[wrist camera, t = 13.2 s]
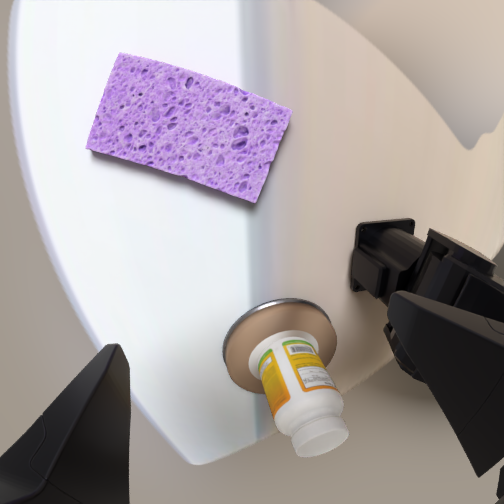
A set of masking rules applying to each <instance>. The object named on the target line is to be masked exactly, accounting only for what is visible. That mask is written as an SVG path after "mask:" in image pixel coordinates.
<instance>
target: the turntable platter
mask: <svg viewBox="0 0 504 504" xmlns="http://www.w3.org/2000/svg"><path fill="white" fill-rule="evenodd" d="M286 337H300V338H304V339H306V340H308V341H309V342H310V343H311V344H312V345H313V347H314V349H315V350H316V352H317V354H318V356H319V357H320V359H321V361H322V363H323V365H324V366H325V368H326V367H327V365H328V364H329V363H330V361H331V359H332V358H333V356H334V353H335V350H336V346H337V336H336V333H335V330H334V328H333V326H332V325H331V323H330V322H329V321H328V319H327V318H326V316H325V315H324V314H323V313H322V312H321V311H320V310H318V309H317V308H315V307H313V306H311V305H308V304H304V303H299V302H285V303H278V304H274V305H270V306H267V307H264V308H262V309H260V310H258V311H256V312H254V313H252V314H251V315H249V316H248V317H246V318H245V319H244V320H243V321H241V322H240V323H239V324H238V325H237V326H236V328H235V329H234V330H233V331H232V333H231V334H230V336H229V338H228V341H227V344H226V348H225V358H226V363H227V369H228V372H229V375H230V377H231V378H232V380H233V381H234V382H235V383H236V384H237V385H238V386H240V387H241V388H243V389H245V390H247V391H250V392H253V393H258V394H265V390H264V387H263V384H262V381H261V378H260V374H259V371H258V366H257V363H258V359H259V356H260V354H261V353H262V352H263V350H264V349H265V348H266V347H268V346H269V345H270V344H272V343H273V342H275V341H277V340H279V339H282V338H286Z"/></svg>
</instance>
